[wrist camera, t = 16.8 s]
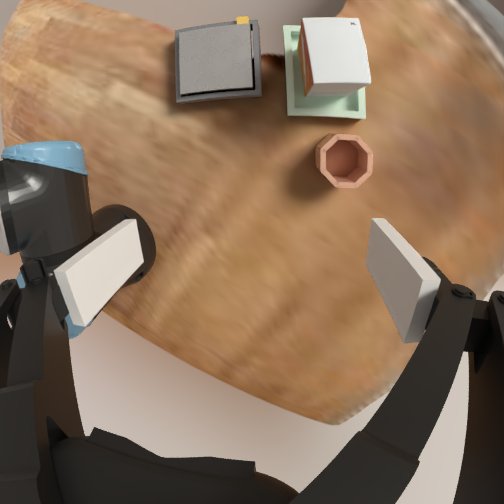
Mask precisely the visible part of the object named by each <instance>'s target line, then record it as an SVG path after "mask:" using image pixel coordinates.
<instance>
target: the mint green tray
mask: <svg viewBox="0 0 504 504" xmlns="http://www.w3.org/2000/svg"><path fill="white" fill-rule="evenodd" d="M300 28H301V26H283V34H284V48H285V68H286V90H287V116H313V117H335V118H350V119H366V108H365V87H363V88H361V89H359V90H357V91H355V92H353V93H351V94H349V95H347V96H324V97H305V93H304V86H303V79H302V72H301V66H300V60H299V55H298V51H297V46H298V41H299V34H300Z"/></svg>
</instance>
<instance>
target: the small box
mask: <svg viewBox="0 0 504 504" xmlns="http://www.w3.org/2000/svg"><path fill="white" fill-rule="evenodd" d="M297 51H298V55H299V60H300V66H301V72H302V79H303V86H304V93H305V97H324V96H347V95H349V94H351V93H353V92H355V91H357V90H359V89H361V88H363V87H365V86H367V85H369V84H371V76H370V69H369V63H368V57H367V49H366V45H365V41H364V38H363V33H362V29H361V25H360V21H359V19H358V18H302V22H301V28H300V34H299V41H298V46H297Z"/></svg>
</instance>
